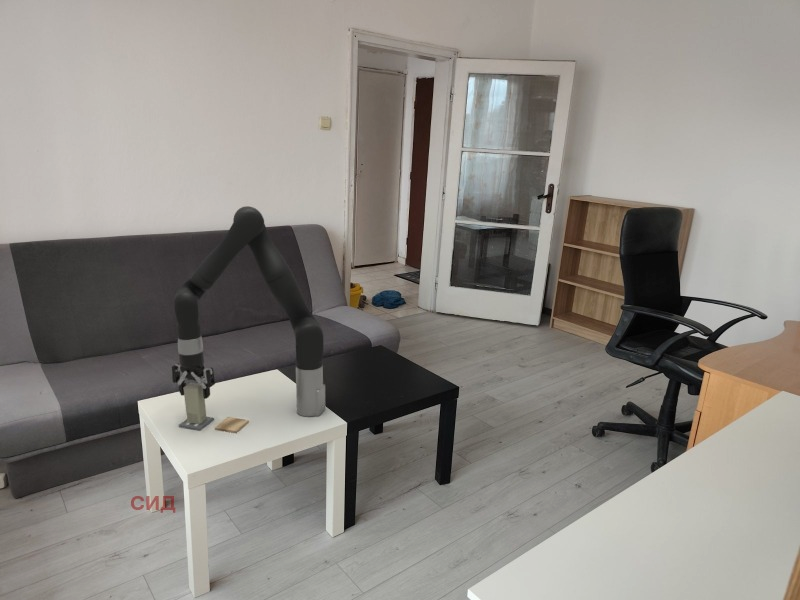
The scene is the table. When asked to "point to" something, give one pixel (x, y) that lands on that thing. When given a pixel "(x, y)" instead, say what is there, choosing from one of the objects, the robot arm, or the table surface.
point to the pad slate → (196, 426)
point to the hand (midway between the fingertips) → (195, 396)
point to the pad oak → (231, 425)
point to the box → (194, 403)
